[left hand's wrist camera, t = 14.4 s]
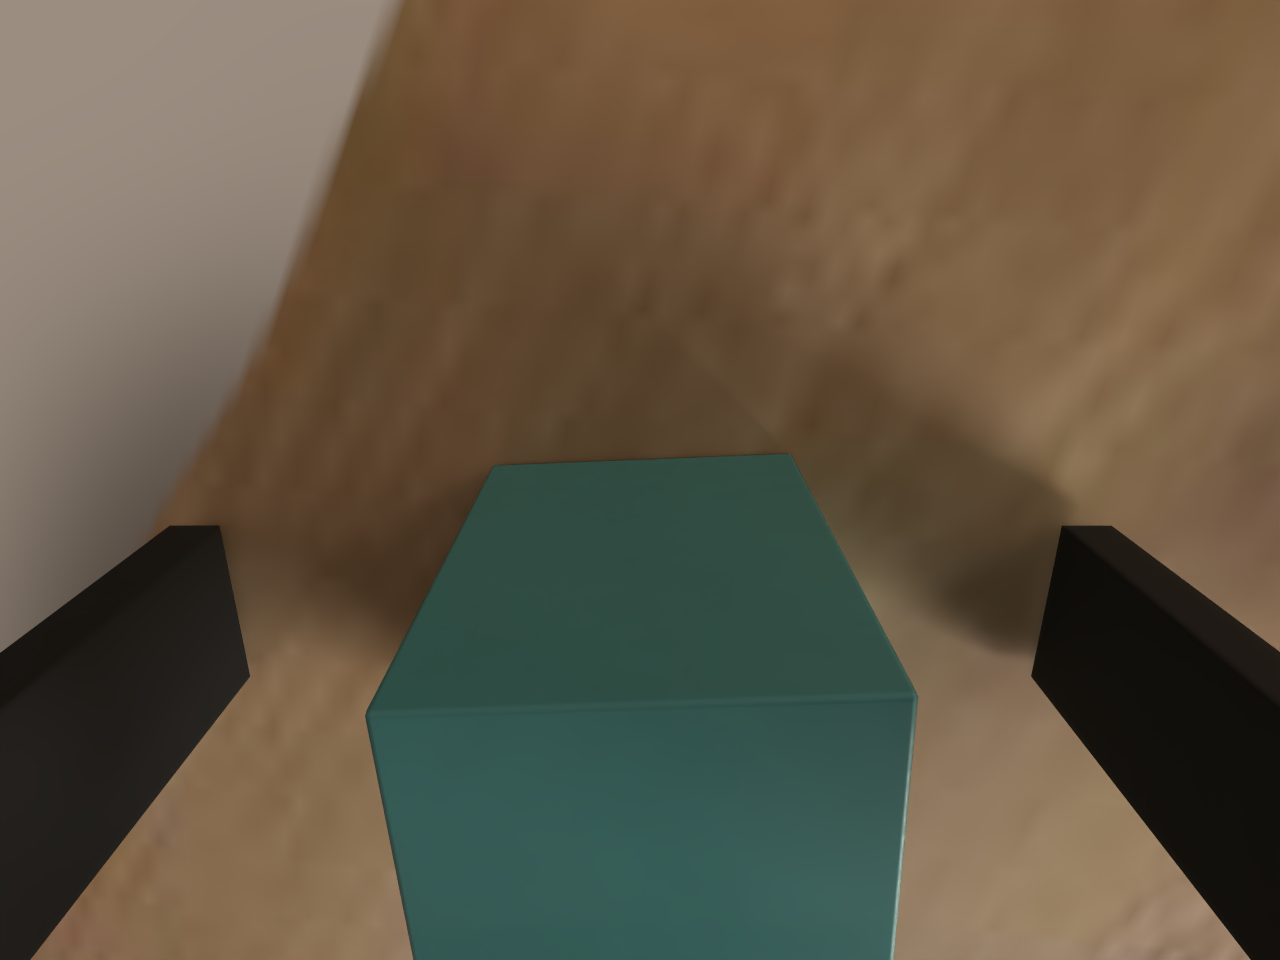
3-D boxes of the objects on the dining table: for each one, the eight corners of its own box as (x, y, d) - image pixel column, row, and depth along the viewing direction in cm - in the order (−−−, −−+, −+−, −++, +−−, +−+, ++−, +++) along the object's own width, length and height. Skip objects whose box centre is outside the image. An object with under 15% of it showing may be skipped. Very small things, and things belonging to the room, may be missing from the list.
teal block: (491, 464, 12) (361, 714, 6) (791, 451, 12) (921, 694, 6) (520, 713, 14) (435, 1085, 8) (785, 703, 14) (884, 1074, 8)
